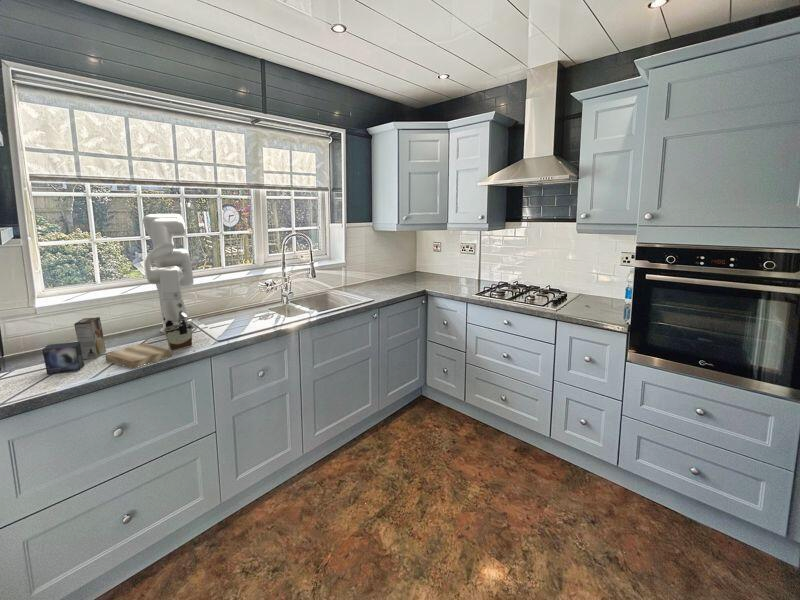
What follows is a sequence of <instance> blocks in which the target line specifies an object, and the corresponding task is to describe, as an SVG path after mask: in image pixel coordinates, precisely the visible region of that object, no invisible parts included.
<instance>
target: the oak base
mask: <svg viewBox="0 0 800 600" xmlns="http://www.w3.org/2000/svg"><path fill="white" fill-rule="evenodd" d="M172 352H173V351H171V349H169V348H166V347H162V346H158V345H154V344H151V343H146V342H143V343H140V344H139V343H138V344H136V345H131V346H128V347H125V348H121V349H118V350H114V351H110V352H107V353H105V360H106V361H107V362H109V363H113V364H115V365H116V364H117V365H119V364H120V365H119V366H123V365H124V366H123V367H126V366H127V367H126V368H129V367H131V368H130V369H133V368H135V367H138V366H141V365H144V364H147V365H149V364H148V363H150V364H151V362H153V363H155V362H154V361H156V362H158V361H157V360H159V361H161V360H160V359H162V360H164V359H163V358H165V359H167V358H166V357H168V358H171V357H173V353H172ZM170 356H171V357H170ZM144 366H145V365H144ZM141 367H142V366H141ZM138 368H139V367H138ZM135 369H136V368H135Z"/></svg>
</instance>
